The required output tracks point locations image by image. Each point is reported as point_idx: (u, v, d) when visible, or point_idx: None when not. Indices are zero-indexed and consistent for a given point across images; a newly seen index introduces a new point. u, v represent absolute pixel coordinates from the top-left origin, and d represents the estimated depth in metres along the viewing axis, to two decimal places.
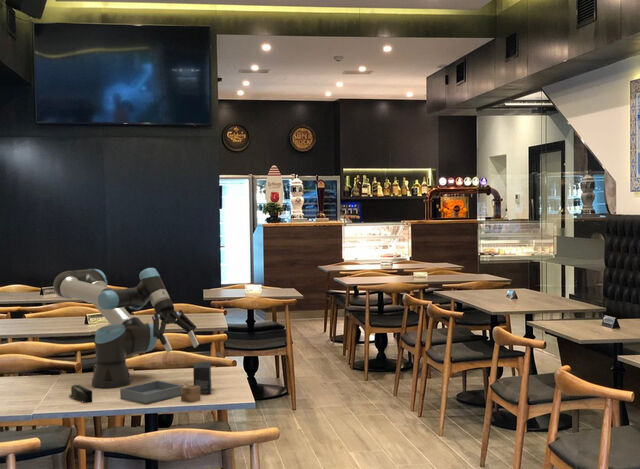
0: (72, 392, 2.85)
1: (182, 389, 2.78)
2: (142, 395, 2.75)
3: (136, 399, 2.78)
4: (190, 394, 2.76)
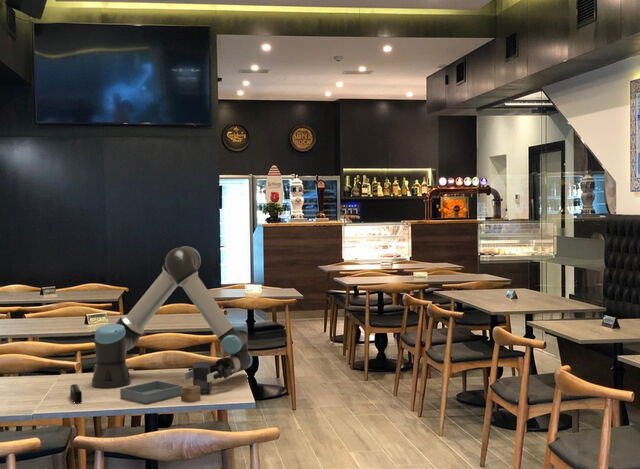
0: None
1: (182, 389, 2.78)
2: (142, 395, 2.75)
3: (136, 399, 2.78)
4: (190, 394, 2.76)
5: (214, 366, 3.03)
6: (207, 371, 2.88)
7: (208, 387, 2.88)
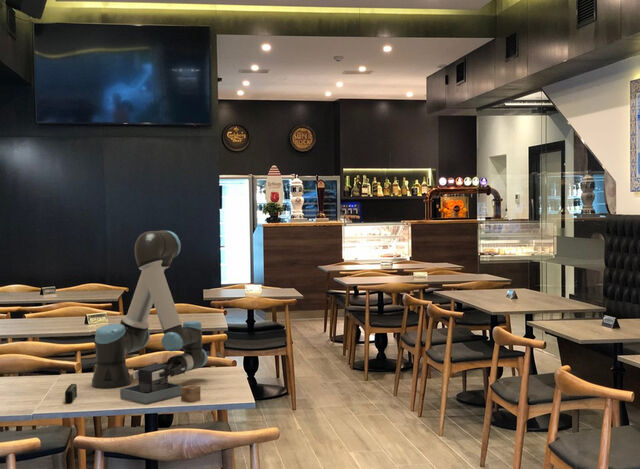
0: None
1: (182, 389, 2.78)
2: (142, 395, 2.75)
3: (136, 399, 2.78)
4: (190, 394, 2.76)
5: (166, 364, 2.95)
6: (150, 374, 2.81)
7: (151, 391, 2.81)
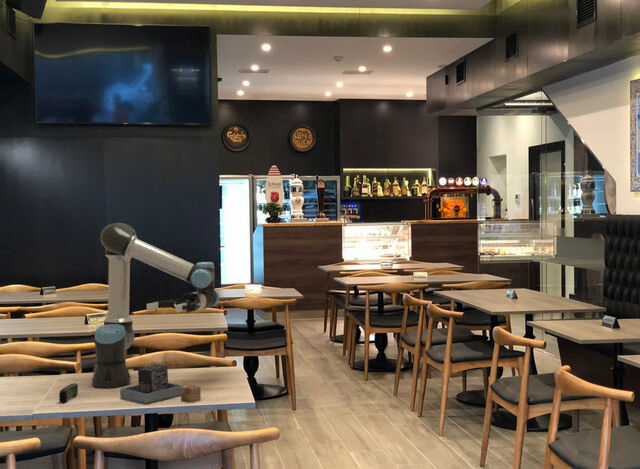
0: None
1: (182, 389, 2.78)
2: (142, 395, 2.75)
3: (136, 399, 2.78)
4: (190, 394, 2.76)
5: (179, 300, 3.07)
6: (150, 374, 2.81)
7: (151, 391, 2.81)
